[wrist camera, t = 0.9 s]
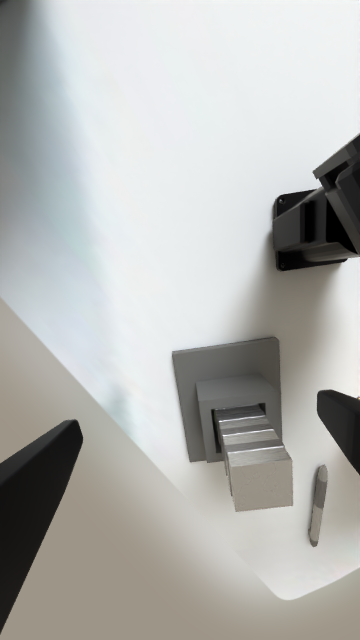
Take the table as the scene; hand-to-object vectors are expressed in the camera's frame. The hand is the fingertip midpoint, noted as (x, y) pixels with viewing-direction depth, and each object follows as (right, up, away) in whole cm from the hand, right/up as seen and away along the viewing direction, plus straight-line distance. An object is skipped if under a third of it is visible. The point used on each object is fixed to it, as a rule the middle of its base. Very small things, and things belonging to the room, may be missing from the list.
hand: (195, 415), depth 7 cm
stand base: (+5, -6, +15) cm, 16 cm away
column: (+5, -6, +13) cm, 16 cm away
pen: (+17, -21, +18) cm, 33 cm away
